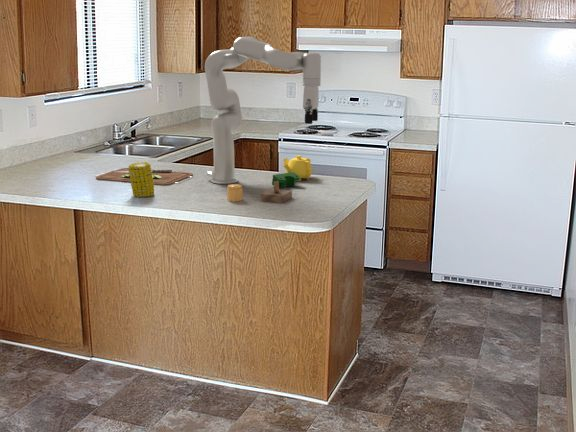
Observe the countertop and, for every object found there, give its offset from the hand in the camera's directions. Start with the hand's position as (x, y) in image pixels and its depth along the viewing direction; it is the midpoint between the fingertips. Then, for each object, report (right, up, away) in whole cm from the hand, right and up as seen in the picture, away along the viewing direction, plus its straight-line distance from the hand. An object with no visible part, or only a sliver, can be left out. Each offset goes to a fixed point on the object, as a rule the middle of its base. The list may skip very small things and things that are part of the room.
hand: (311, 122), depth 327 cm
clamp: (-11, -28, +14) cm, 33 cm away
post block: (-15, -34, -9) cm, 38 cm away
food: (-73, -32, -3) cm, 80 cm away
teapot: (-6, -23, +31) cm, 39 cm away
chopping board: (-79, -23, +34) cm, 89 cm away
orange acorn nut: (-32, -34, -10) cm, 48 cm away
